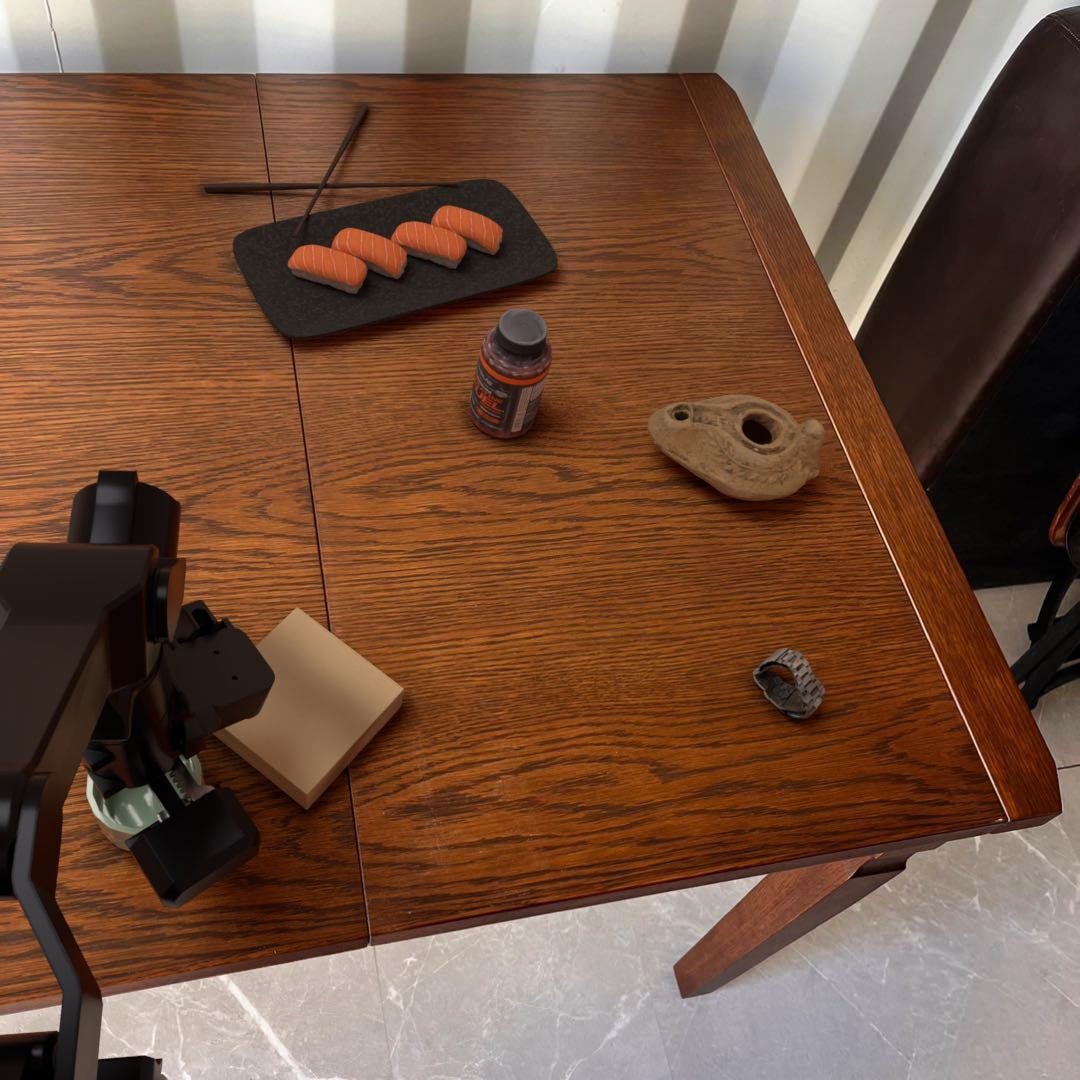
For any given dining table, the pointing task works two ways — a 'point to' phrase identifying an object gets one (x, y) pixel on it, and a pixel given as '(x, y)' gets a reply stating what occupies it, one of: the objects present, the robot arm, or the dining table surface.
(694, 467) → the oil lamp
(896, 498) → the dining table surface
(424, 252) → the sushi plate
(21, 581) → the robot arm
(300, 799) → the plate
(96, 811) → the bowl
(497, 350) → the supplement bottle
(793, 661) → the wristwatch
